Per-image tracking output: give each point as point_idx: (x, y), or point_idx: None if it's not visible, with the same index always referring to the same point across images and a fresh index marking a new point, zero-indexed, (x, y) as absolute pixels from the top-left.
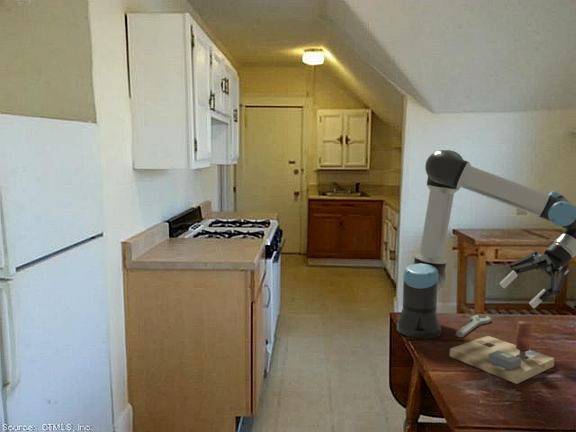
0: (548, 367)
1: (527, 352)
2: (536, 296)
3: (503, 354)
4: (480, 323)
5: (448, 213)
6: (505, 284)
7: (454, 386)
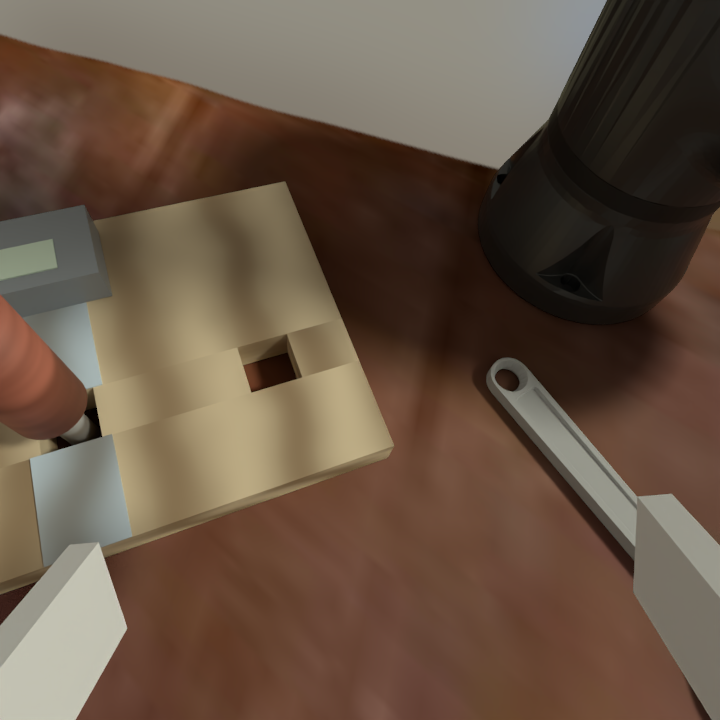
0: None
1: (94, 491)
2: (2, 646)
3: (39, 255)
4: None
5: None
6: (661, 594)
7: (63, 94)
